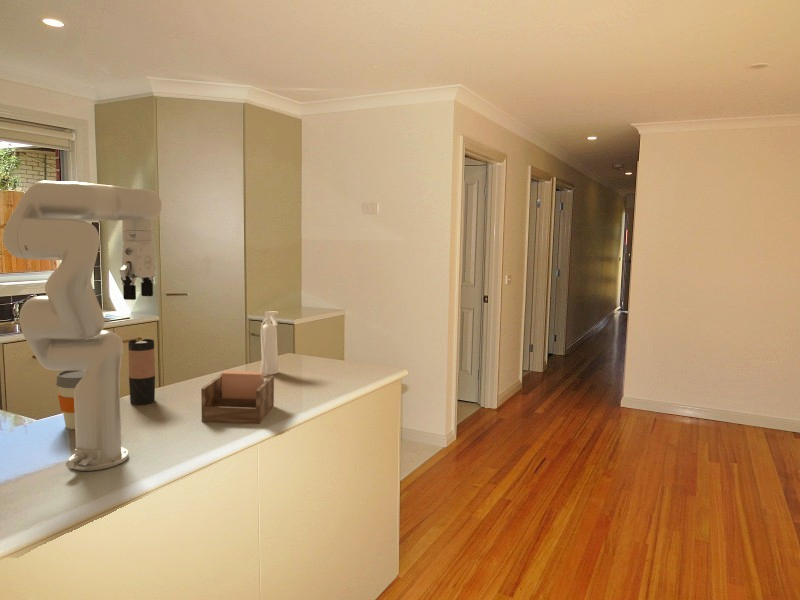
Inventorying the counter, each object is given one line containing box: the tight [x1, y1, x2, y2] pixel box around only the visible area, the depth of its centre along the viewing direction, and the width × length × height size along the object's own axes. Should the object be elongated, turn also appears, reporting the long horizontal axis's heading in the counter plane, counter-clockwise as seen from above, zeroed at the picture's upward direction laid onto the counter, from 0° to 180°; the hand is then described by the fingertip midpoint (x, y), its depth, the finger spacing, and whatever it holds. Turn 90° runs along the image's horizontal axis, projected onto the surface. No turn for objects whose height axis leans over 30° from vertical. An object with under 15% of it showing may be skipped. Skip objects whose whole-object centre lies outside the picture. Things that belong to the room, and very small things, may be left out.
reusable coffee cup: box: [55, 371, 85, 430], centre depth 154 cm, size 13×13×15 cm
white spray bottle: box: [259, 310, 279, 376], centre depth 217 cm, size 7×12×25 cm, turn 157°
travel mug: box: [127, 338, 156, 406], centre depth 176 cm, size 8×8×20 cm
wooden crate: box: [200, 373, 275, 425], centre depth 168 cm, size 17×17×10 cm
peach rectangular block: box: [221, 369, 265, 399], centre depth 172 cm, size 4×12×11 cm, turn 89°
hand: (138, 297), depth 155 cm, fingers open, 9 cm apart
